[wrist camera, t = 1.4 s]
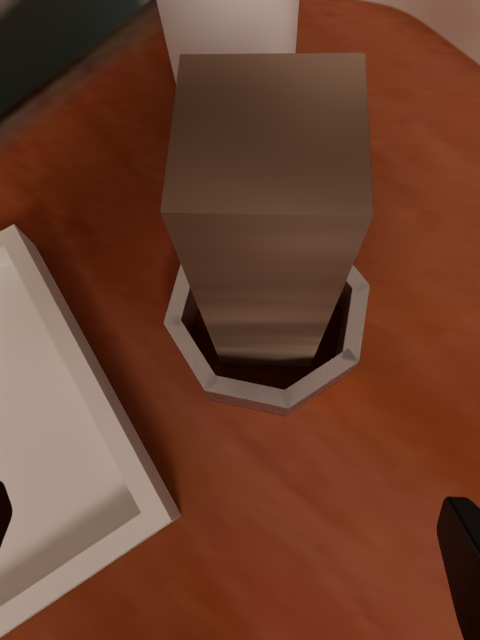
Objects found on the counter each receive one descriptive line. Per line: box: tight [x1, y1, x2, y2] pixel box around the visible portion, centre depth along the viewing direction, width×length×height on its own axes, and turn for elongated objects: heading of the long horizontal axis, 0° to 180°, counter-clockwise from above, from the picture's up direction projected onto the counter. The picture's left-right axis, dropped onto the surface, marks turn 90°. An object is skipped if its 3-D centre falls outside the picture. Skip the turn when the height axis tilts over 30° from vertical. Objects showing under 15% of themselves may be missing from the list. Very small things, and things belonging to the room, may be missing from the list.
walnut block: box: [160, 53, 373, 367], centre depth 18 cm, size 5×5×15 cm
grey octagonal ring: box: [163, 264, 370, 416], centre depth 24 cm, size 10×10×3 cm
